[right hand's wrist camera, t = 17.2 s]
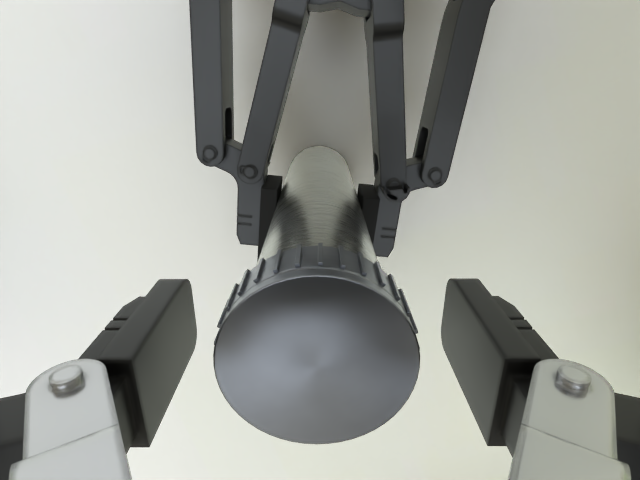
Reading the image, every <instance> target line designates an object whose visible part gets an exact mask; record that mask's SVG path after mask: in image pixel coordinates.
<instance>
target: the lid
mask: <svg viewBox="0 0 640 480" xmlns="http://www.w3.org/2000/svg"><path fill="white" fill-rule="evenodd" d="M217 327H218V328H220V329H219V331H218V334H217V336H216V339H215V341H214V345H215V347H214V354H213V357H214V370H215V375H216V379H217V382H218V385H219V388H220V390H221V391H222V393H223V395H224V397H225V399H226V400H227V402H228V403H229V404H230V406H231V407H232V408H233V409H234V410H235V411H236V412H237V413H238V414H239V415H240V416H241V417H242V418H243V419H244V420H246V421H247V422H248V423H250V424H251V425H253V426H254V427H256V428H257V429H259V430H261V431H263V432H265V433H267V434H269V435H272V436H275V437H277V438H280V439H284V440H288V441H291V442H298V443H304V444H330V443H337V442H342V441H347V440H351V439H354V438H357V437H360V436H362V435H365V434H367V433H369V432H371V431H373V430H375V429H377V428H378V427H380V426H381V425H383V424H385V423H386V422H387V421H388V420H390V419H391V418H392V417H393V416H394V415H395V414H396V413H397V412H398V411H399V410H400V409H401V408H402V407H403V405H404V404H405V403H406V401H407V400H408V398H409V396H410V395H411V393H412V391H413V389H414V386H415V384H416V381H417V378H418V373H419V368H420V352H419V351H420V347H419V344H418V341H417V338H416V333H418V331H417V328H416V325H415V322H414V320H413V317H412V314H411V312H410V309H409V306H408V304H407V301H406V299H405V296H404V293H403V291H402V289H399V290H398V289H397V286H396V283H395V281H394V278H393V276H392V275H391V274H389V275H387V274H386V273H385V272H384V271H383V270H382V269H381V267H380V264H379V263H378V262H377V261H376V262H375V263H373V262H371V261H370V260H368V259H366V258H365V257H363V253H362V252H358V254H356V253H354V252H351V251H348V250H344V248H343V246H341V245H339V247H338V248H335V247H329V246H323V243H318V246H304V247H302V244H298V245H297V248H293V249H290V250H286V251H282V249H280V250H277V254H276V255H274V256H271V257H269V258H268V259H266V260H265V259H264V258H261V259H260V261H259V264H258V265H257V266H256V267H255V268H253V269H252V270H251V271H249V270H248V269H247V270H246V271H245V274H244V276H243V279H242V281H241V283H240V284H239V285H238V284H235V286H234V288H233V290H232V293H231V295H230V298H229V299H228V301H227V303H226V306H225V308H224V311H223V313H222V315H221V318H220V320H219V323H218V325H217Z"/></svg>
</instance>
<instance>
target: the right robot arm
mask: <svg viewBox="0 0 640 480" xmlns="http://www.w3.org/2000/svg"><path fill="white" fill-rule="evenodd" d="M196 338H197V328H196V319H195V312H194V304H193V296H192V289H191V284H190V282H189V280H188V279H160V280H158V281H157V283H156V284H155V285H154V287H153V288H152V289H151V290H150V292H149V293H148V294H147V295H146V297H138V298H136V299H135V300H133V301H132V302H130V303H128V304H127V305H125V306H123V307H122V309H121V310H120V311H119V312H118V313H117V314H116V316H115V317H114V318H113V321H110V323H109V324H108V325H107V326H106V327H105V330H103V331H102V332H101V333H100V334H99V335H98V337H97V338H96V339H95V340H94V341H93V342H92V344H91V345H90V346H89V347H88V348H87V349H86V351H85V352H84V353H83V354H82V355H81V356H80V358H79V359H77V360H72V361H68V362H64V363H61V364H59V365H56V366H54V367H52V368H50V369H48V370H46V371H45V372H43V373H42V374H40V375H39V376H38V377H36V378H35V379H34V380H33V381H32V382H31V384H30V385H29V386H28V388H27V390H26V393H23V394H19V395H15V396H10V397H5V398H0V480H132V477H131V473H130V468H129V464H128V460H127V455H126V454H127V452H128V450H129V448H130V447H150V445H151V443H152V440H153V438H154V436H155V434H156V432H157V430H158V427H159V425H160V423H161V421H162V419H163V417H164V414H165V412H166V410H167V408H168V406H169V403H170V401H171V399H172V397H173V395H174V393H175V390H176V388H177V386H178V384H179V382H180V380H181V377H182V375H183V373H184V371H185V369H186V367H187V364H188V362H189V360H190V358H191V356H192V354H193V351H194V349H195V345H196ZM441 338H442V345H443V348H444V351H445V353H446V355H447V358H448V360H449V362H450V364H451V366H452V369H453V371H454V373H455V375H456V377H457V380H458V382H459V384H460V386H461V388H462V391H463V393H464V395H465V397H466V399H467V402H468V404H469V406H470V408H471V410H472V413H473V415H474V417H475V419H476V421H477V424H478V426H479V428H480V430H481V432H482V435H483V437H484V439H485V441H486V443H487V446H507V447H508V449H509V451H510V453H511V455H512V457H513V460H512V464H511V468H510V473H509V477H508V480H640V398H637V397H632V396H627V395H623V394H618V393H614V390H613V388H612V386H611V385H610V384H609V382H608V381H607V380H606V379H605V378H604V377H602V376H601V375H600V374H598V373H597V372H595V371H594V370H592V369H590V368H588V367H586V366H584V365H581V364H579V363H576V362H572V361H568V360H563V359H559V358H558V357H557V356H556V355H555V354H554V352H553V351H552V350H551V349H550V348H549V346H548V345H547V344H546V343H545V342H544V341H543V339H542V338H541V337H540V336H539V335H538V333H537V332H536V331H535V330H532V326H531V325H530V324H529V323H528V322H527V320H524V317H523V316H522V315H521V313H520V312H519V311H518V310H517V309H516V307H515V306H513V305H512V304H510V303H509V302H507V301H505V300H504V299H502V298H500V297H499V296H492V295H491V294H490V293H489V292H488V290H487V289H486V288H485V287H484V285H483V284H482V283H481V281H480V280H479V279H449V281H448V283H447V287H446V294H445V302H444V310H443V318H442V326H441Z"/></svg>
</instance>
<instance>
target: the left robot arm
mask: <svg viewBox="0 0 640 480" xmlns="http://www.w3.org/2000/svg"><path fill="white" fill-rule="evenodd" d="M494 1H495V0H449V2H448V4H447V7H446V10H445V12H444V16H443V19H442V23H441V28H440V32H439V37H438V42H437V46H436V51H435V56H434V60H433V65H432V69H431V74H430V79H429V83H428V88H427V93H426V97H425V102H424V107H423V111H422V116H421V120H420V125H419V130H418V134H417V139H416V144H415V148H414V153H413V158H409V159H406V135H405V103H404V70H403V31H404V0H275V3H274V7H273V13H272V23H271V27H270V31H269V36H268V40H267V44H266V48H265V52H264V56H263V61H262V65H261V69H260V73H259V77H258V82H257V86H256V90H255V94H254V98H253V103H252V107H251V111H250V115H249V119H248V124H247V128H246V132H245V136H244V140H243V144H242V143H239V142H237V141H235V140H234V112H233V40H232V0H189V5H190V26H191V47H192V68H193V89H194V111H195V132H196V153H197V157H198V159H199V160H200V162H201V163H203V164H204V165H206V166H210V167H212V166H215V167H218V168H220V169H222V170H224V171H226V172H228V173H230V174H231V175H232V176H233V177H234V178H235V180H236V182H237V184H238V206H237V236H238V239H239V241H240V244H245V245H256V246H258V260H259V257H260V254H261V251H262V248H263V245H264V242H265V239H266V236H267V233H268V230H269V227H270V224H271V221H272V218H273V215H274V212H275V209H276V206H277V203H278V200H279V197H280V194H281V190H282V176H274V175H268V176H267V173H268V166H269V164H270V159H271V155H272V151H273V148H274V144H275V140H276V136H277V133H278V129H279V125H280V121H281V118H282V114H283V110H284V106H285V103H286V99H287V95H288V91H289V88H290V84H291V80H292V76H293V73H294V69H295V65H296V61H297V58H298V54H299V50H300V46H301V43H302V39H303V36H304V33H305V30H306V26H307V23H308V19H309V15H310V11H314V12H324V11H329V10H334V9H340V10H342V11H345V12H347V13H349V14H352V15H354V16H359V17H364V28H365V39H366V44H367V59H368V76H369V93H370V109H371V126H372V143H373V160H374V176H375V183H374V186H373V185H367V184H359V186H358V194H357V197H358V200H359V203H360V206H361V210H362V213H363V216H364V219H365V222H366V226H367V229H368V232H369V235H370V239H371V242H372V245H373V248H374V252H375V255H376V256H382V257H388V256H389V254H390V253H391V251H392V250H393V247H394V241H395V236H396V229H397V224H398V219H399V213H400V207H401V203H402V201H403V200H404V199H406V198H407V196H408V195H409V193H410V191H413V190H416V189H420V188H424V187H431V188H437V187H439V186H442V185H443V184H444V183H445V182H446V180H447V178H448V175H449V171H450V167H451V163H452V159H453V155H454V151H455V147H456V143H457V139H458V135H459V131H460V127H461V123H462V119H463V115H464V111H465V107H466V103H467V99H468V95H469V91H470V87H471V83H472V79H473V75H474V71H475V67H476V63H477V59H478V55H479V51H480V47H481V43H482V39H483V35H484V31H485V27H486V23H487V19H488V15H489V11H490V7H491V6H492V4H493V2H494ZM257 263H258V262H257Z"/></svg>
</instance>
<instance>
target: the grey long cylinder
mask: <svg viewBox="0 0 640 480" xmlns="http://www.w3.org/2000/svg"><path fill="white" fill-rule="evenodd" d="M318 243H323V246H329V247H335V248H338V247H339V245H341V246H343V248H344V250H348V251H351V252H354V253H356V254H358V252H362V253H363V257H365V258H366V259H368V260H370V261H371V262H373V263H375V262H376V261H377V258H376V255H375V252H374V248H373V245H372V242H371V239H370V235H369V232H368V229H367V226H366V222H365V219H364V216H363V213H362V210H361V206H360V203H359V200H358V197H357V193H356V190H355V187H354V184H353V180H352V177H351V174H350V171H349V168H348V165H347V163H346V161H345V159H344V158H343V157H342V156H341V154H339V153H338V152H337V151H335V150H334V149H331V148H329V147H325V146H313V147H309V148H306V149H304V150H303V151H301V152H300V153H299V154H298V155H296V157H295V158H294V159H293V161H292V163H291V165H290V168H289V171H288V173H287V176H286V179H285V182H284V185H283V188H282V191H281V194H280V197H279V200H278V203H277V206H276V209H275V212H274V215H273V218H272V221H271V224H270V227H269V230H268V233H267V236H266V239H265V242H264V245H263V248H262V251H261V254H260V257H259V260H258V263H257V265H258V264H259V261H260V259H261V258H264V259H265V260H266V259H268V258H269V257H271V256H274V255H276V254H277V250H280V249H282V251H286V250H290V249H293V248H297V245H298V244H302V247H304V246H318ZM377 262H378V261H377Z"/></svg>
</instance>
